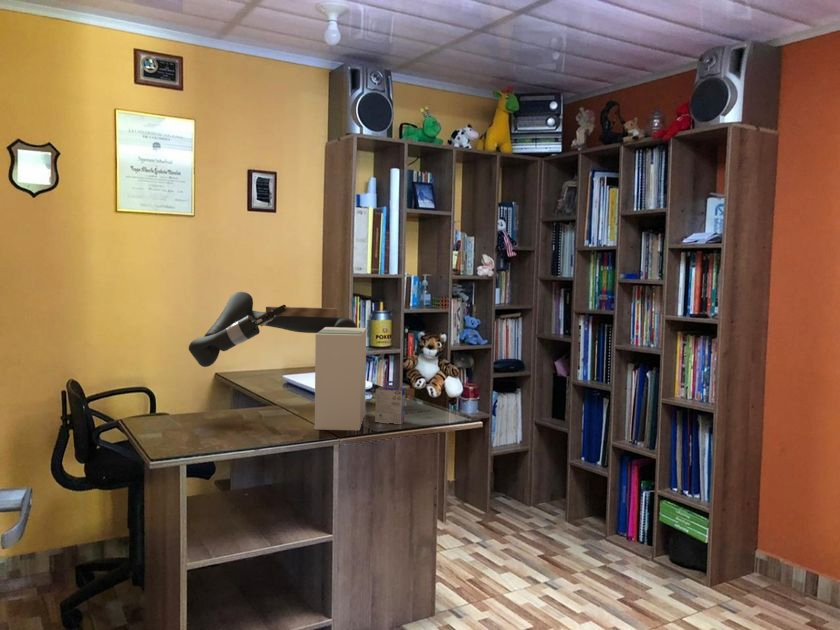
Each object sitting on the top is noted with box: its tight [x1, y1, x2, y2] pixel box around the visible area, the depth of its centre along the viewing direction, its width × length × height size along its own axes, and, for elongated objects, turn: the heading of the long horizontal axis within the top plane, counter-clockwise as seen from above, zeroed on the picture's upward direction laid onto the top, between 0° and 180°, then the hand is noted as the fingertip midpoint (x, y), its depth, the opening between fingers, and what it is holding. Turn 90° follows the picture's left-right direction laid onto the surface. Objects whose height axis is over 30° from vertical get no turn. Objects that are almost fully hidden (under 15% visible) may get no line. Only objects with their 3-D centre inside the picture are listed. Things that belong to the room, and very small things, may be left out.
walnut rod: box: [265, 306, 339, 318], centre depth 248 cm, size 25×3×3 cm, turn 90°
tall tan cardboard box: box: [314, 327, 367, 431], centre depth 244 cm, size 15×24×32 cm, turn 0°
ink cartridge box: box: [374, 380, 406, 425], centre depth 245 cm, size 10×6×14 cm, turn 78°
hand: (285, 307), depth 248 cm, fingers closed on walnut rod, 3 cm apart
